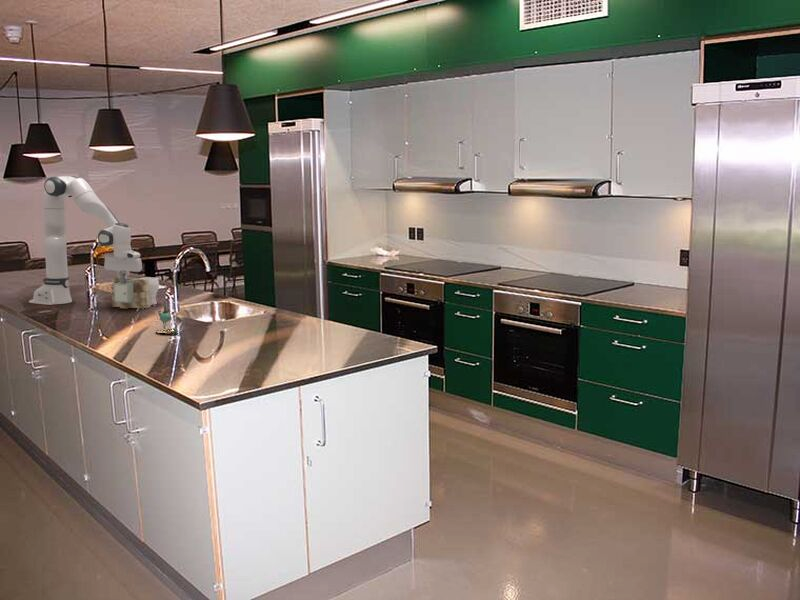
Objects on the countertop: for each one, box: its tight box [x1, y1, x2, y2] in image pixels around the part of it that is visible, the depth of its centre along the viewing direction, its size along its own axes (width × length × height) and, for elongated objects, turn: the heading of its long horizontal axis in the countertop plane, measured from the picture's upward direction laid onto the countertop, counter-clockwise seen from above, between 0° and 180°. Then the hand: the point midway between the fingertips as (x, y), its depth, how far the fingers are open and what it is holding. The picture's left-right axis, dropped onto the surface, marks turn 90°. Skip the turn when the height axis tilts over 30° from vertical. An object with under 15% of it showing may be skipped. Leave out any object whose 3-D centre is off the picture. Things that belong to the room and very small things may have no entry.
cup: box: [139, 276, 160, 305], centre depth 426 cm, size 11×11×15 cm
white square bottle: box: [114, 273, 135, 303], centre depth 410 cm, size 8×9×15 cm
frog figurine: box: [155, 304, 179, 334], centre depth 357 cm, size 10×18×15 cm, turn 41°
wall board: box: [111, 277, 152, 309], centre depth 416 cm, size 20×7×16 cm, turn 82°
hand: (123, 279), depth 408 cm, fingers closed on white square bottle
